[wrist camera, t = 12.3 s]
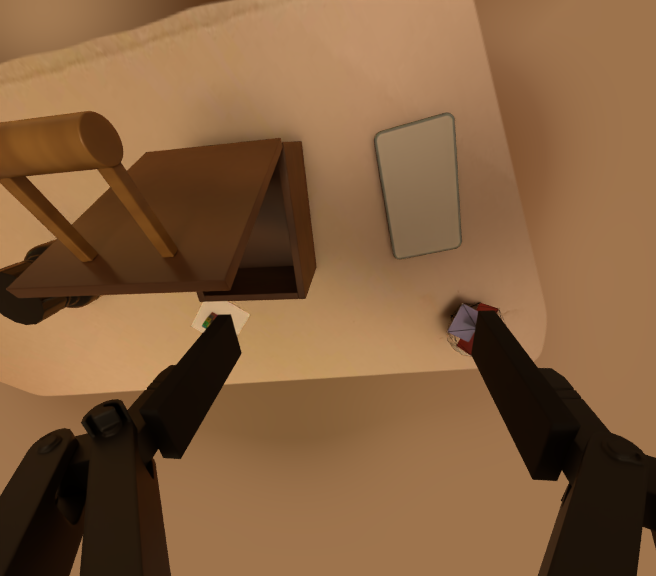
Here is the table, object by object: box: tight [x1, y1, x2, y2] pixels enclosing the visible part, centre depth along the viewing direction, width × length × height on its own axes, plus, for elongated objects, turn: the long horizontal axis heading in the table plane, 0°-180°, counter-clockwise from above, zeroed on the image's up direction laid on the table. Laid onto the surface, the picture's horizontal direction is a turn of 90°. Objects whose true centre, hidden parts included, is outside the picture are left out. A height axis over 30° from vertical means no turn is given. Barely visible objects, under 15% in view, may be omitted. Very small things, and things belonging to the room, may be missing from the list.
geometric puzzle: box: [446, 302, 506, 356], centre depth 38 cm, size 7×7×8 cm
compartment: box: [197, 141, 316, 302], centre depth 34 cm, size 16×13×9 cm
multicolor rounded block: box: [201, 311, 218, 330], centre depth 45 cm, size 4×3×2 cm, turn 57°
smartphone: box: [374, 113, 462, 259], centre depth 34 cm, size 8×1×15 cm
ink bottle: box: [0, 239, 103, 325], centre depth 38 cm, size 10×9×12 cm
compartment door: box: [0, 111, 283, 298], centre depth 18 cm, size 16×13×8 cm
